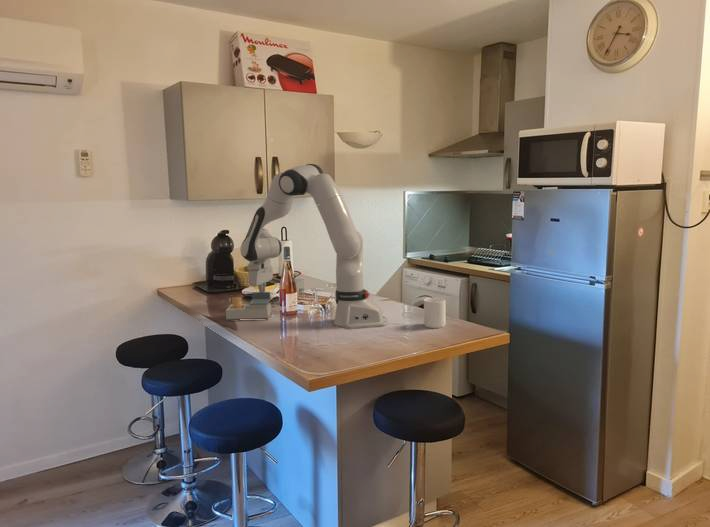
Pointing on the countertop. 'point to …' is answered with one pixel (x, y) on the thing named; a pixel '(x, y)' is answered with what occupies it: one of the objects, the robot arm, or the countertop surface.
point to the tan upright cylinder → (237, 302)
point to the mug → (434, 312)
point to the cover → (260, 298)
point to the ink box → (300, 285)
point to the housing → (248, 312)
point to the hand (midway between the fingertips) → (262, 292)
